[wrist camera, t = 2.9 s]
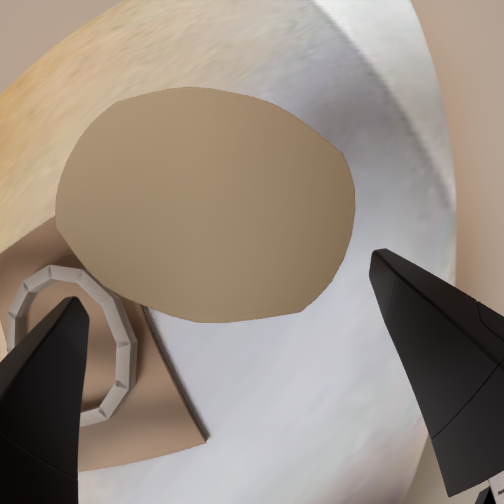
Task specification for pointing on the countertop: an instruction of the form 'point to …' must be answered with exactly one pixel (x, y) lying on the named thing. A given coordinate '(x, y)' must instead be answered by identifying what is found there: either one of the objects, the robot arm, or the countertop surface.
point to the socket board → (99, 355)
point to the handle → (207, 205)
